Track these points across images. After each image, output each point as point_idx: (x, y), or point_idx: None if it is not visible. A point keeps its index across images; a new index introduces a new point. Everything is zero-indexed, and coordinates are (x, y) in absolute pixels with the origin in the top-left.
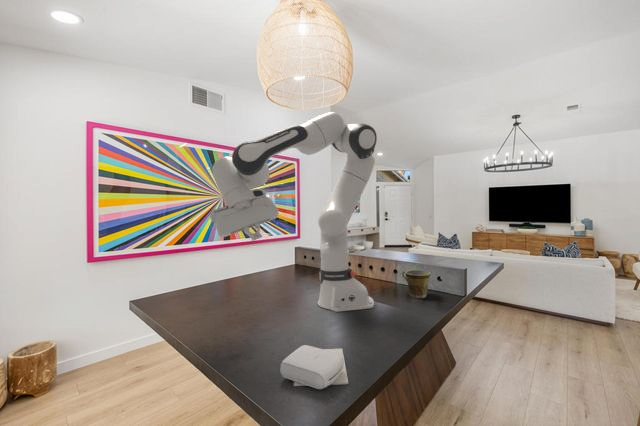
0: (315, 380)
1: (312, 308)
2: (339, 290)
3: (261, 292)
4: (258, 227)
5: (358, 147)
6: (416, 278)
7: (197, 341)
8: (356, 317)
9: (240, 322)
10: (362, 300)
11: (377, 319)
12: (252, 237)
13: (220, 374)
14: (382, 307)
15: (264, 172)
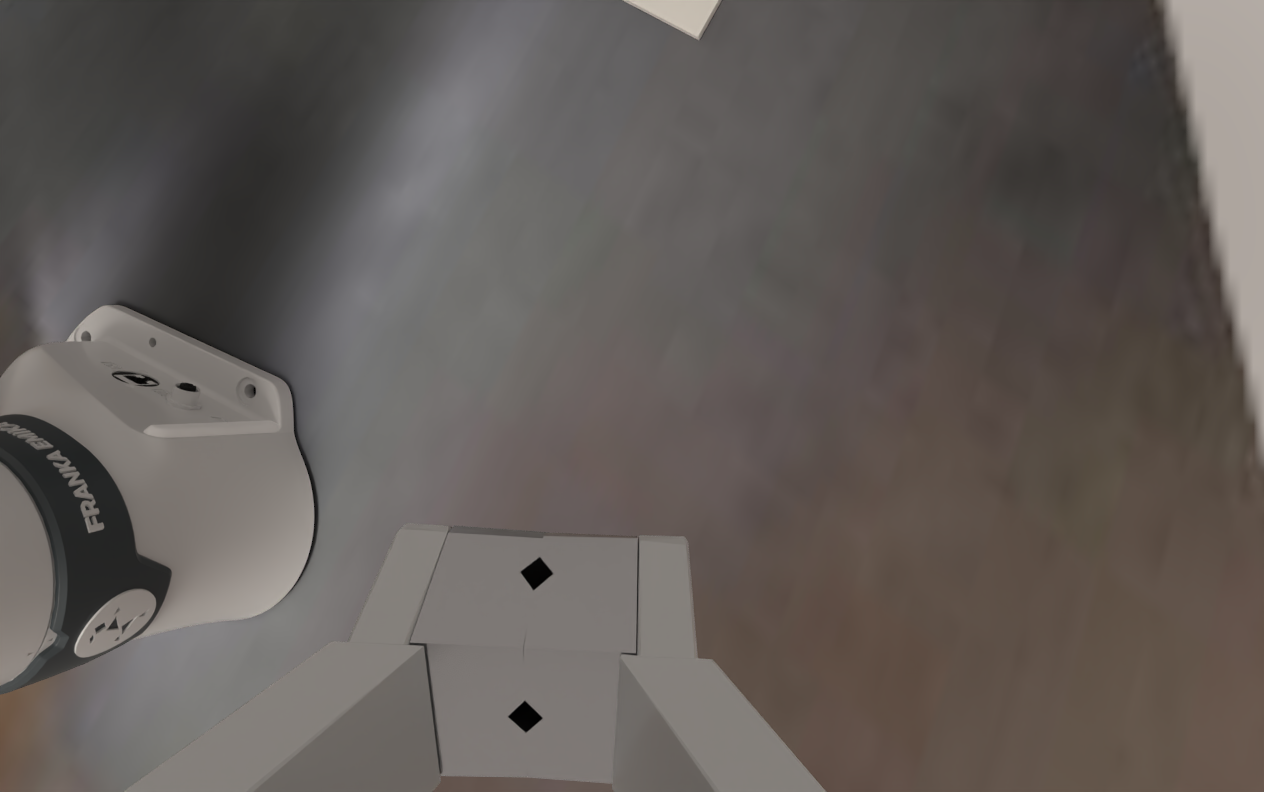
0: None
1: (362, 531)
2: (143, 415)
3: None
4: (239, 775)
5: None
6: None
7: (1192, 522)
8: (247, 248)
9: (834, 633)
10: (104, 350)
11: (184, 160)
12: (680, 563)
13: (1168, 15)
14: (72, 283)
15: None
